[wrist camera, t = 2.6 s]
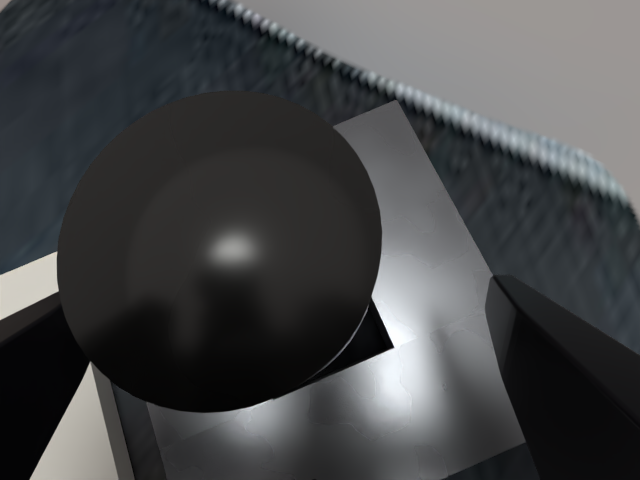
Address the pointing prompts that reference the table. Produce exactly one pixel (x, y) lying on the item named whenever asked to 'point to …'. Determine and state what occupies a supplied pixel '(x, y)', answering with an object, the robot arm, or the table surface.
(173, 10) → the table surface
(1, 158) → the table surface
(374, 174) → the grey square frame block
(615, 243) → the table surface
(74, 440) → the pad
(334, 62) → the table surface
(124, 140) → the black knobbed metal rod
